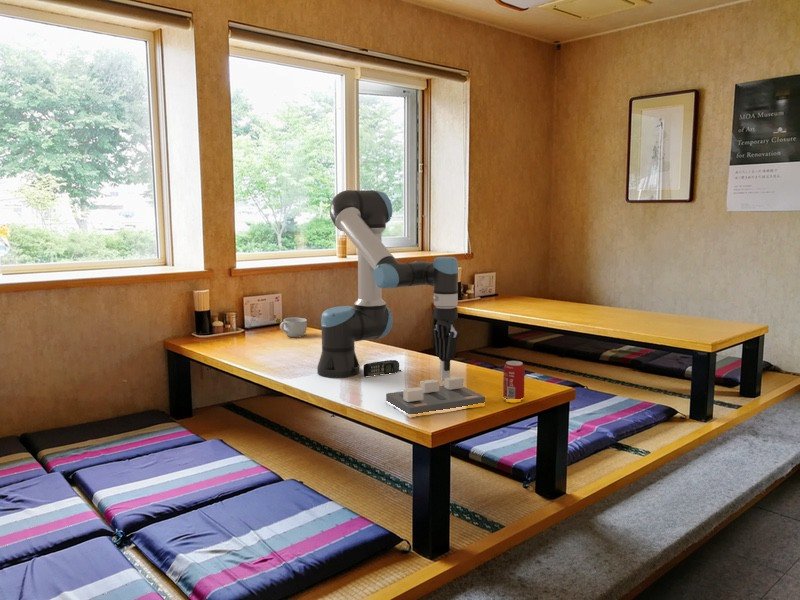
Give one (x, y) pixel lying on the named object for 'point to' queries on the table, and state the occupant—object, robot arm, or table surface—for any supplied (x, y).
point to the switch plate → (436, 400)
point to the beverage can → (513, 380)
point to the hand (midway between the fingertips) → (444, 379)
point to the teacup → (294, 326)
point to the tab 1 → (413, 394)
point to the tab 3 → (453, 382)
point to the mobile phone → (381, 367)
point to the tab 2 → (429, 386)
